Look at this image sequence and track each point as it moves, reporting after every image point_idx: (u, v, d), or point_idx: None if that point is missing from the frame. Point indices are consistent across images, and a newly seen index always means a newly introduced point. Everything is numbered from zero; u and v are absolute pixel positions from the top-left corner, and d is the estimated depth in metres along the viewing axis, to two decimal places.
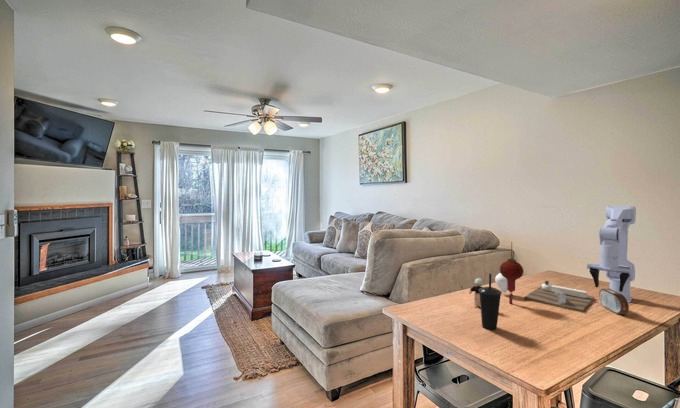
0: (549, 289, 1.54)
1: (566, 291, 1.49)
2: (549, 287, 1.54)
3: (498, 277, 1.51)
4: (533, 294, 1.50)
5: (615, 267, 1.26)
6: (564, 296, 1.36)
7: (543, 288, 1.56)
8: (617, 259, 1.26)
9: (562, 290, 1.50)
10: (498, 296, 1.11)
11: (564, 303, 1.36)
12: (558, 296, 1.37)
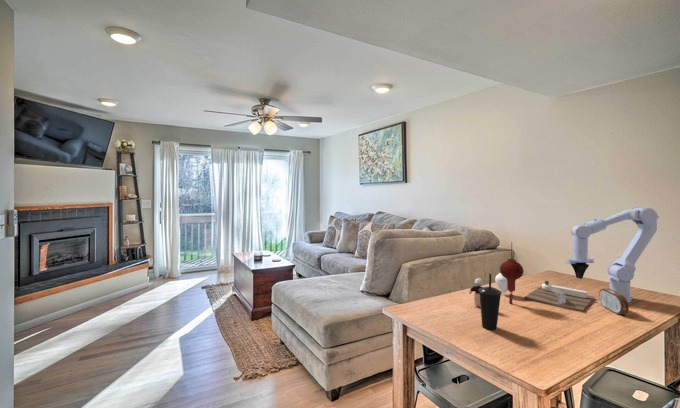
0: (549, 289, 1.54)
1: (566, 291, 1.49)
2: (549, 287, 1.54)
3: (498, 277, 1.51)
4: (533, 294, 1.50)
5: (572, 258, 1.52)
6: (564, 296, 1.36)
7: (543, 288, 1.56)
8: (573, 251, 1.51)
9: (562, 290, 1.50)
10: (498, 296, 1.11)
11: (564, 303, 1.36)
12: (558, 296, 1.37)
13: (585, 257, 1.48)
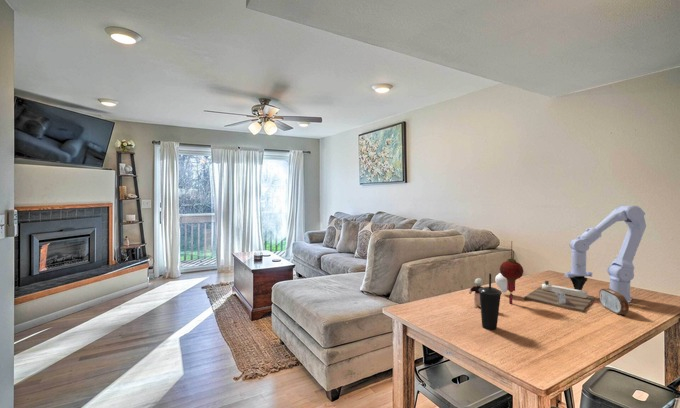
0: (549, 289, 1.54)
1: (566, 291, 1.49)
2: (549, 287, 1.54)
3: (498, 277, 1.51)
4: (533, 294, 1.50)
5: (571, 271, 1.52)
6: (564, 296, 1.36)
7: (543, 288, 1.56)
8: (572, 265, 1.51)
9: (562, 290, 1.50)
10: (498, 296, 1.11)
11: (564, 303, 1.36)
12: (558, 296, 1.37)
13: (584, 271, 1.48)
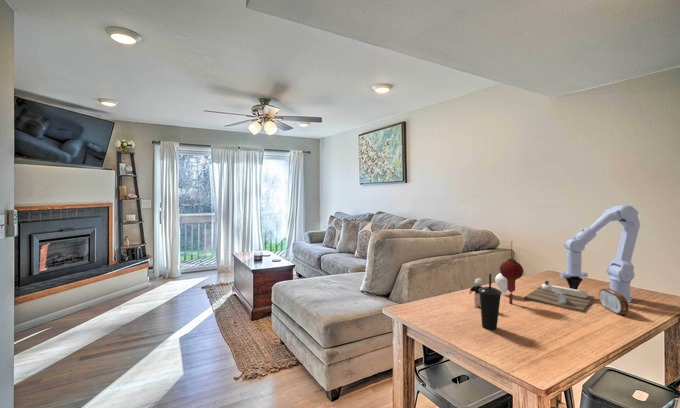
0: (549, 289, 1.54)
1: (566, 291, 1.49)
2: (549, 287, 1.54)
3: (498, 277, 1.51)
4: (533, 294, 1.50)
5: (566, 271, 1.52)
6: (564, 296, 1.36)
7: (543, 288, 1.56)
8: (567, 265, 1.51)
9: (562, 290, 1.50)
10: (498, 296, 1.11)
11: (564, 303, 1.36)
12: (558, 296, 1.37)
13: (579, 271, 1.48)
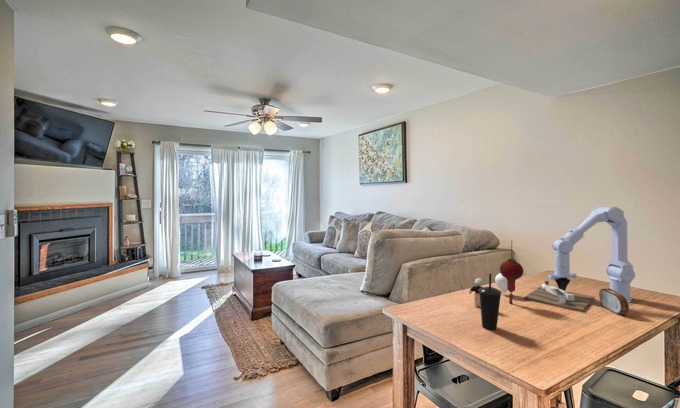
0: (545, 289, 1.55)
1: None
2: (545, 287, 1.55)
3: (498, 277, 1.51)
4: (533, 294, 1.50)
5: (554, 272, 1.50)
6: (564, 296, 1.36)
7: (542, 287, 1.57)
8: (555, 266, 1.49)
9: None
10: (498, 296, 1.11)
11: (564, 303, 1.36)
12: (558, 296, 1.37)
13: (567, 272, 1.46)
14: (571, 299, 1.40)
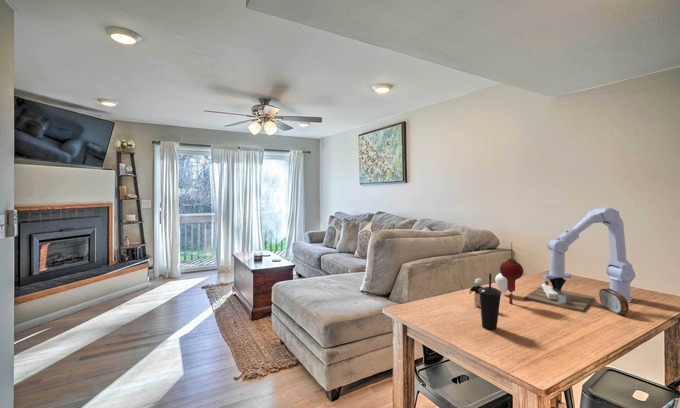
0: (543, 288, 1.55)
1: (546, 291, 1.49)
2: (543, 286, 1.55)
3: (498, 277, 1.51)
4: (533, 294, 1.50)
5: (550, 272, 1.49)
6: (564, 296, 1.36)
7: None
8: (551, 266, 1.48)
9: (545, 290, 1.51)
10: (498, 296, 1.11)
11: (564, 303, 1.36)
12: (558, 296, 1.37)
13: (562, 272, 1.45)
14: (553, 298, 1.42)
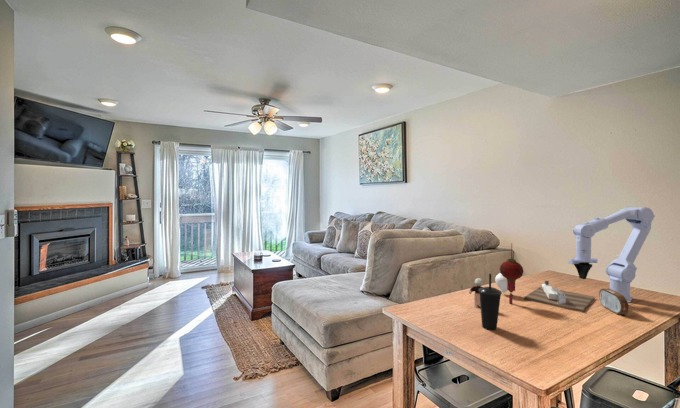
0: (543, 288, 1.55)
1: (546, 291, 1.49)
2: (543, 286, 1.55)
3: (498, 277, 1.51)
4: (533, 294, 1.50)
5: None
6: (564, 296, 1.36)
7: None
8: (576, 251, 1.47)
9: (545, 290, 1.51)
10: (498, 296, 1.11)
11: (564, 303, 1.36)
12: (558, 296, 1.37)
13: (588, 257, 1.44)
14: (553, 298, 1.42)
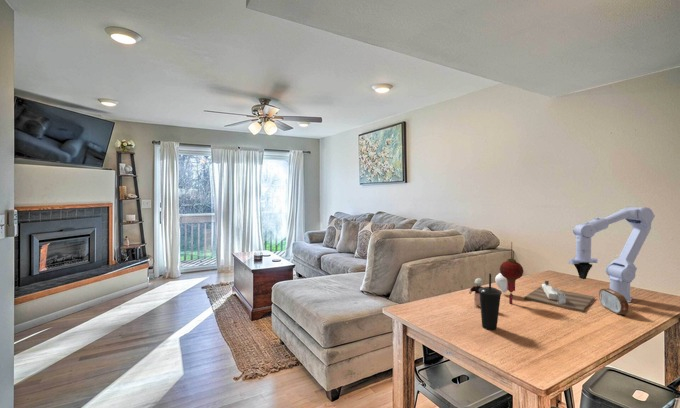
0: (543, 288, 1.55)
1: (546, 291, 1.49)
2: (543, 286, 1.55)
3: (498, 277, 1.51)
4: (533, 294, 1.50)
5: None
6: (564, 296, 1.36)
7: None
8: (576, 251, 1.47)
9: (545, 290, 1.51)
10: (498, 296, 1.11)
11: (564, 303, 1.36)
12: (558, 296, 1.37)
13: (588, 257, 1.44)
14: (553, 298, 1.42)
